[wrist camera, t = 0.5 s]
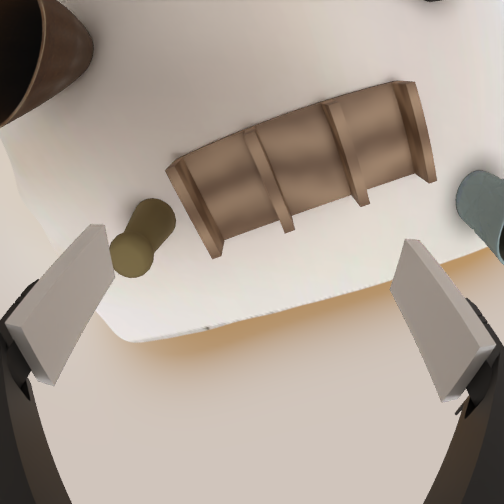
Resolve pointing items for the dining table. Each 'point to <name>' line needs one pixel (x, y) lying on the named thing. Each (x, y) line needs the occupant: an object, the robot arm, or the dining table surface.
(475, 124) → the dining table surface
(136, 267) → the olive peg figure
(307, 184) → the spice rack
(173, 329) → the dining table surface
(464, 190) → the grey-green tumbler
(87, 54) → the plant pot
